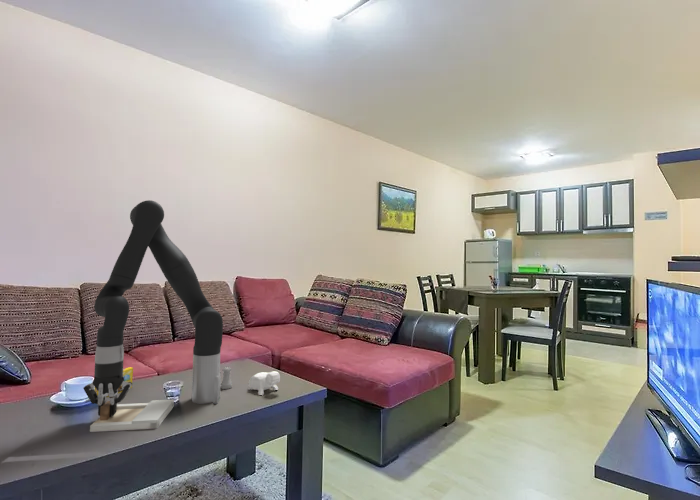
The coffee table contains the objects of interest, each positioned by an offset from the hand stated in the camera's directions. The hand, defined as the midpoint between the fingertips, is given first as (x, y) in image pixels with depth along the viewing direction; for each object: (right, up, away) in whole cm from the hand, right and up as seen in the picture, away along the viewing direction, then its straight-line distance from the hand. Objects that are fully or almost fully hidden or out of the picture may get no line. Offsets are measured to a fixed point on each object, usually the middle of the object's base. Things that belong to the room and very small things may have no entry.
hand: (107, 416), depth 118 cm
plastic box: (+8, -2, +2) cm, 8 cm away
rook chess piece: (+25, -4, +35) cm, 43 cm away
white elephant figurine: (+42, -4, +31) cm, 52 cm away
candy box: (-13, -3, +25) cm, 29 cm away
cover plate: (+5, -1, +1) cm, 5 cm away
